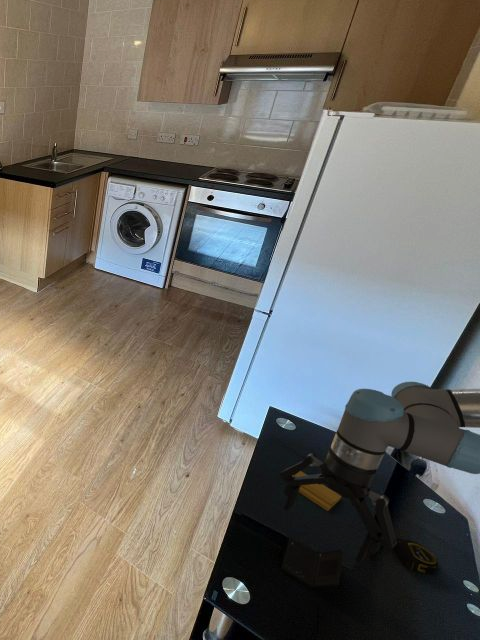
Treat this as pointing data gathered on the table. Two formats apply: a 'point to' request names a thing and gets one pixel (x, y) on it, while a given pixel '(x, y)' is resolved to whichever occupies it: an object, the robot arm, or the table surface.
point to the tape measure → (416, 556)
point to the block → (319, 494)
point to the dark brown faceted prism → (312, 565)
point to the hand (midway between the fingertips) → (322, 531)
